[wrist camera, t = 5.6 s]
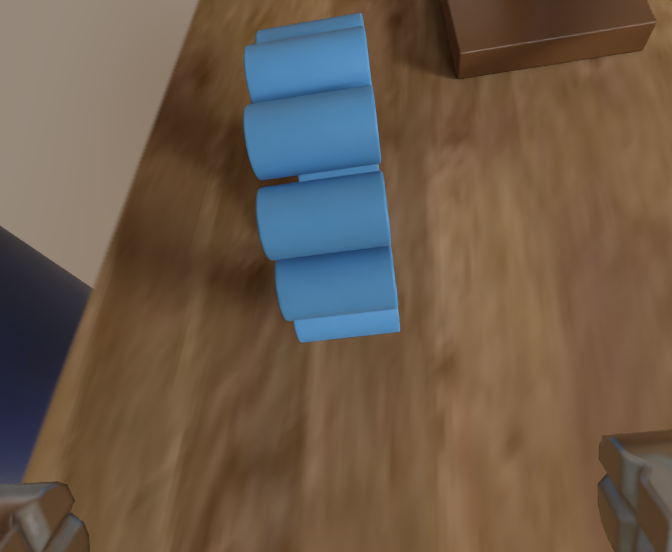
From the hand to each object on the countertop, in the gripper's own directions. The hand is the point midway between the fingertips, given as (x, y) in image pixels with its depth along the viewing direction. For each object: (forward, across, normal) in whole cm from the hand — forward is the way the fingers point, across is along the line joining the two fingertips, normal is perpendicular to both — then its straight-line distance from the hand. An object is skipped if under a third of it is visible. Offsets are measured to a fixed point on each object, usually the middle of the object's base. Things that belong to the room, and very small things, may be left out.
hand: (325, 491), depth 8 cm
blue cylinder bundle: (+13, 0, 0) cm, 13 cm away
